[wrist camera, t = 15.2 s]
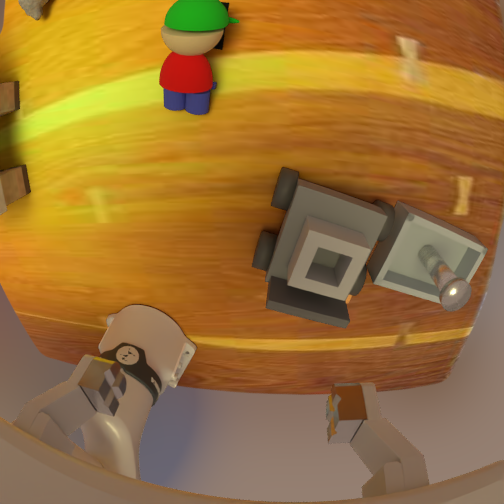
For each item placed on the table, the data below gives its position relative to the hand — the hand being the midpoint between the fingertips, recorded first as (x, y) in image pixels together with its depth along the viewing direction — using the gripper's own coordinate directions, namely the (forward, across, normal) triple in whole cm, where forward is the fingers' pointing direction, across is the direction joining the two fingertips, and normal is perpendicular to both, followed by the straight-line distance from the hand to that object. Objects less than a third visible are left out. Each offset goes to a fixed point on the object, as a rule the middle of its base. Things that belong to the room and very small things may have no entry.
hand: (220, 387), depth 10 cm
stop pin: (+30, -24, +10) cm, 40 cm away
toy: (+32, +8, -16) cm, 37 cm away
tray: (+31, -24, +10) cm, 41 cm away
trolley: (+32, -8, +7) cm, 33 cm away
